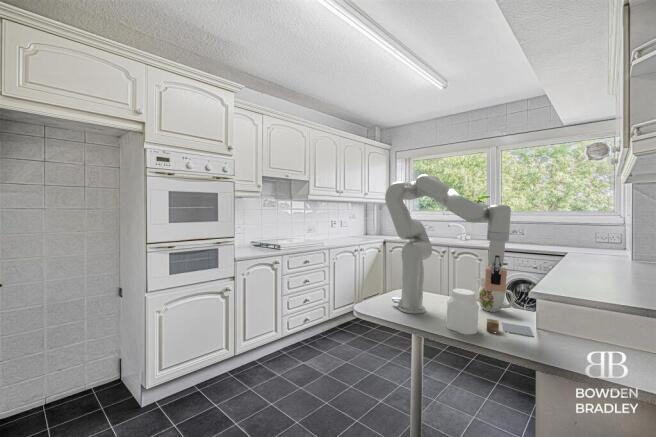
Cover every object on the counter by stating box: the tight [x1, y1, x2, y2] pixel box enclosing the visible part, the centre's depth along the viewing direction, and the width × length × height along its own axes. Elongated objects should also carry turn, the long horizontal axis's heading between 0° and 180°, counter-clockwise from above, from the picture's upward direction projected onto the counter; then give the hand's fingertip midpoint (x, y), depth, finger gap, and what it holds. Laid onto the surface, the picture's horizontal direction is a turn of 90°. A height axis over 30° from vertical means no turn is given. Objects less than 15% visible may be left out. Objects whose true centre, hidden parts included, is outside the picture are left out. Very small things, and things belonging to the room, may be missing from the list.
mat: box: [501, 322, 534, 338], centre depth 127 cm, size 10×10×1 cm
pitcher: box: [474, 277, 515, 313], centre depth 149 cm, size 11×18×14 cm, turn 40°
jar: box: [445, 288, 480, 335], centre depth 126 cm, size 12×10×15 cm
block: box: [486, 318, 500, 334], centre depth 125 cm, size 4×4×4 cm
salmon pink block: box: [484, 265, 508, 292], centre depth 124 cm, size 7×7×8 cm
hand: (495, 281), depth 124 cm, fingers closed on salmon pink block, 7 cm apart
